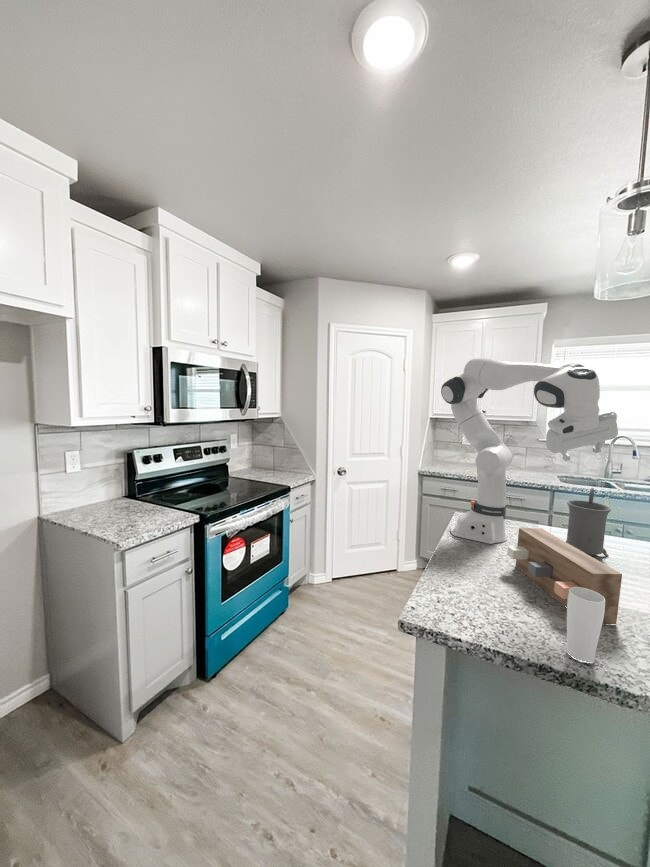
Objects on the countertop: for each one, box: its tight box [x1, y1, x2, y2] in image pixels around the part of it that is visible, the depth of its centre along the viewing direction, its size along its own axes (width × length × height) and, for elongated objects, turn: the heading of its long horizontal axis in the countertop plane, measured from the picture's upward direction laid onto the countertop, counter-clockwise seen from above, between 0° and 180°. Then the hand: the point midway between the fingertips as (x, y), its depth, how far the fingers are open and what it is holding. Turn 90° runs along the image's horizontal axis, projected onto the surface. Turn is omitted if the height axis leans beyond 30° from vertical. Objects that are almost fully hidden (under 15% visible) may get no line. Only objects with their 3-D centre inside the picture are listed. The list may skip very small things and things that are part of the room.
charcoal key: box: [528, 562, 553, 577], centre depth 110 cm, size 6×4×3 cm, turn 92°
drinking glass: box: [565, 587, 605, 662], centre depth 81 cm, size 7×7×15 cm
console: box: [515, 527, 623, 625], centre depth 110 cm, size 8×33×14 cm, turn 2°
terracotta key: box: [554, 582, 581, 599], centre depth 98 cm, size 6×4×3 cm, turn 92°
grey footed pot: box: [565, 487, 612, 558], centre depth 140 cm, size 19×15×25 cm
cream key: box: [506, 545, 529, 560], centre depth 122 cm, size 6×4×3 cm, turn 92°
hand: (581, 455), depth 119 cm, fingers open, 8 cm apart
